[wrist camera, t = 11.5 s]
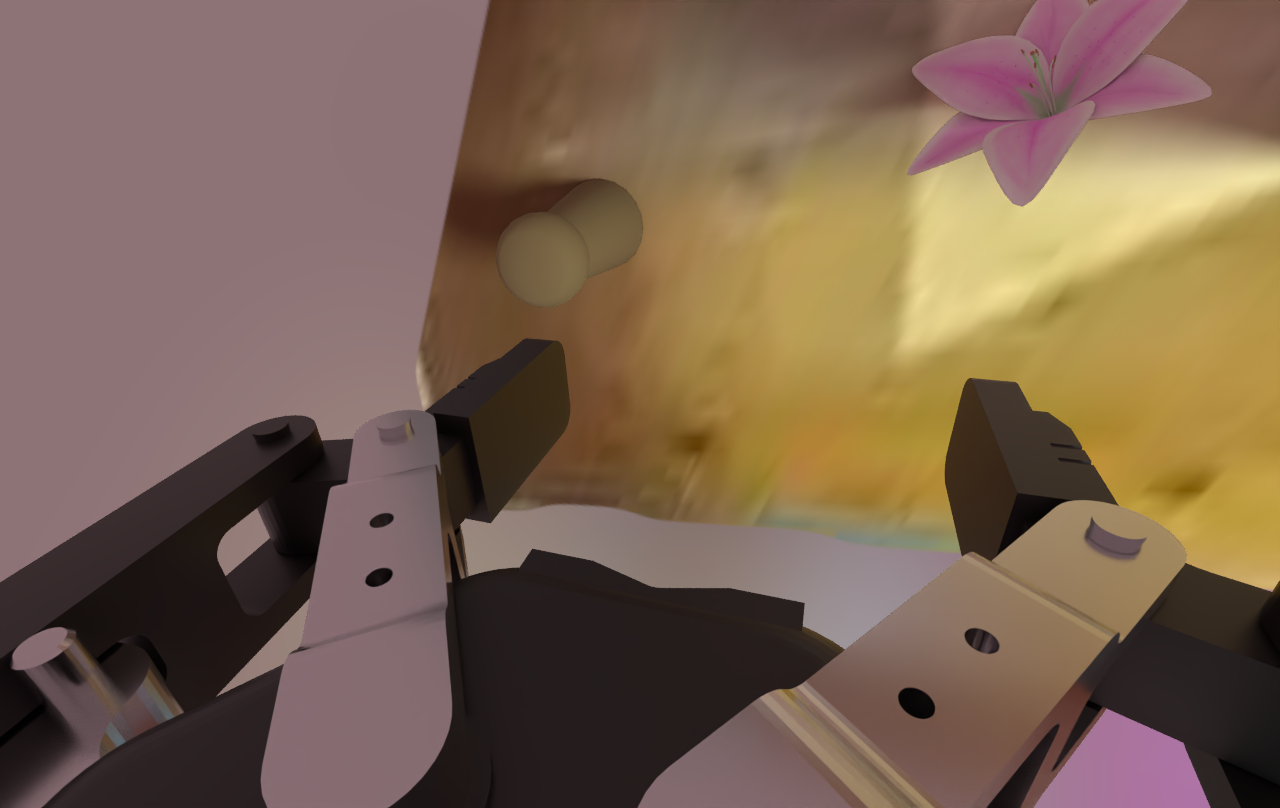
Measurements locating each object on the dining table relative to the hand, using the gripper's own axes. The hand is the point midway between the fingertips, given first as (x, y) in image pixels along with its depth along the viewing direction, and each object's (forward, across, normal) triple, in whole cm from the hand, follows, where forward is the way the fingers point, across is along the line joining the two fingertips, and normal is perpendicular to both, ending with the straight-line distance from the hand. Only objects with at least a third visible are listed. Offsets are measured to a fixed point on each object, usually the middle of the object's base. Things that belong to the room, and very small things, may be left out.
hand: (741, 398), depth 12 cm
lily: (+28, -10, -5) cm, 30 cm away
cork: (+28, +14, +3) cm, 32 cm away
